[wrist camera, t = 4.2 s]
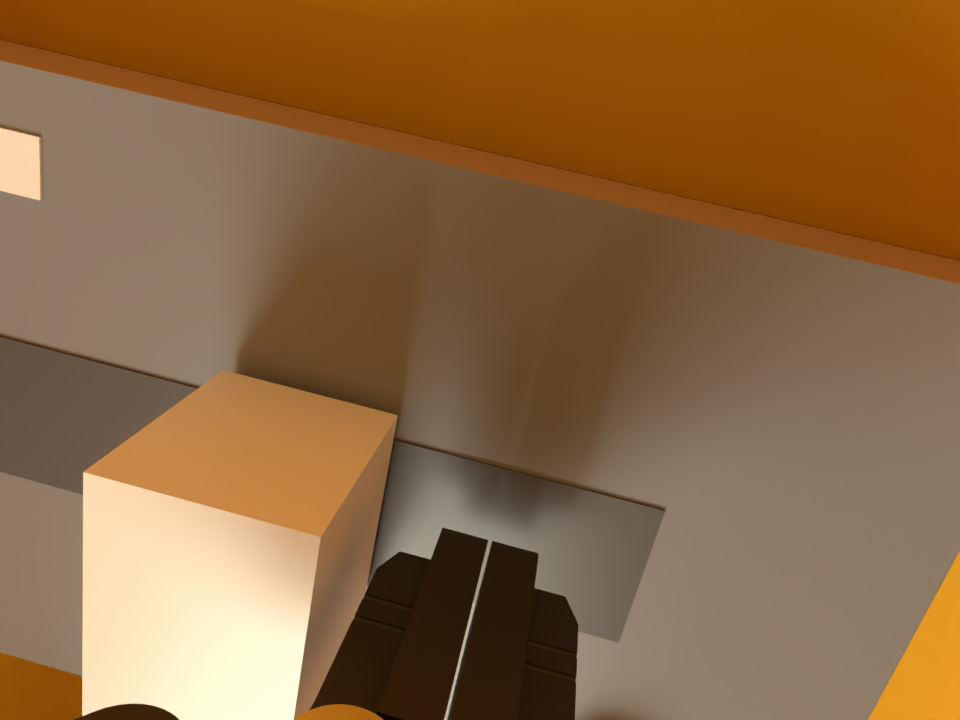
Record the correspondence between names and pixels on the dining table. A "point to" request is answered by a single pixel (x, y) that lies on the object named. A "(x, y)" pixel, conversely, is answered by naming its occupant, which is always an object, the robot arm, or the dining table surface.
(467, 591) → the robot arm
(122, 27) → the dining table surface
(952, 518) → the breaker panel
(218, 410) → the switch
